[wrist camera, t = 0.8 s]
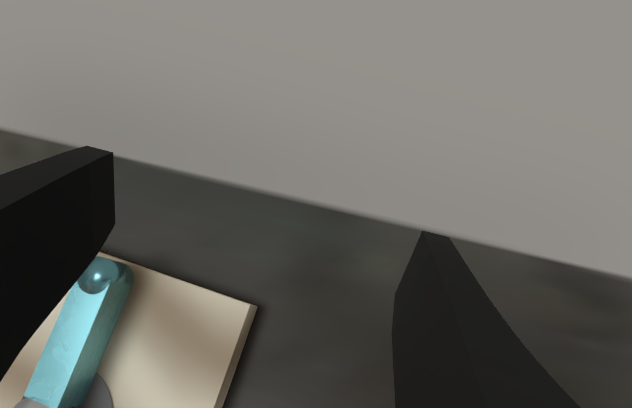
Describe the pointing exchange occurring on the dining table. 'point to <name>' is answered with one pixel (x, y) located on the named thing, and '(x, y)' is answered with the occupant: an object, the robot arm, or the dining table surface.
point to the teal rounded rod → (79, 337)
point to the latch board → (154, 347)
